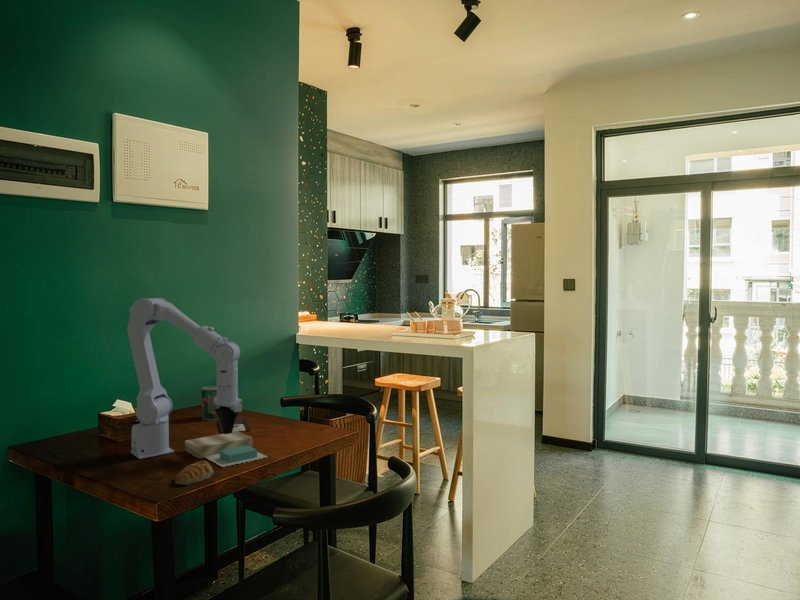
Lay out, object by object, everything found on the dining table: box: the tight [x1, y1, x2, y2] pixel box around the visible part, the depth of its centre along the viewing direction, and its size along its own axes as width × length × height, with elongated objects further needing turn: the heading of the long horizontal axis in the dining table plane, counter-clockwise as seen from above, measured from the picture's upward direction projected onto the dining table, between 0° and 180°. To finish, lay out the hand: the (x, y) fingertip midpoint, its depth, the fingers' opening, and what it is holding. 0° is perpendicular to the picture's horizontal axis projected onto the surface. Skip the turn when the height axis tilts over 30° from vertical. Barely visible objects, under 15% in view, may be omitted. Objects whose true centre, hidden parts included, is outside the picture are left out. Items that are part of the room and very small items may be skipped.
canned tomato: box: [201, 385, 221, 421], centre depth 203 cm, size 8×8×11 cm
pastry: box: [174, 460, 214, 486], centre depth 138 cm, size 9×7×4 cm
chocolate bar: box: [217, 417, 251, 434], centre depth 191 cm, size 9×1×18 cm
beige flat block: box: [184, 431, 254, 460], centre depth 163 cm, size 16×10×3 cm, turn 131°
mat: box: [203, 451, 269, 468], centre depth 155 cm, size 13×12×1 cm
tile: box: [220, 445, 258, 463], centre depth 154 cm, size 8×6×2 cm
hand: (227, 433), depth 159 cm, fingers closed
